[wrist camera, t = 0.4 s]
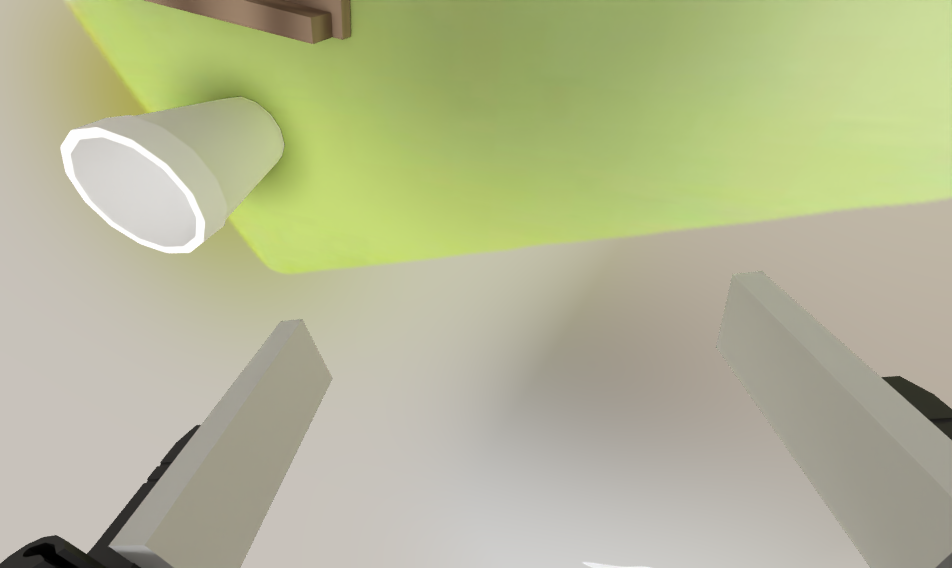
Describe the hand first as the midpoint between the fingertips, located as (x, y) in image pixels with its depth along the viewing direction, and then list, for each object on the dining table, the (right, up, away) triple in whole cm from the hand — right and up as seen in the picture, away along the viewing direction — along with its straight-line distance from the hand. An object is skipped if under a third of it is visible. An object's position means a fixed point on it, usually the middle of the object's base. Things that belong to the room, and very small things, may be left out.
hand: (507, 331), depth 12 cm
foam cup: (-22, +16, +24) cm, 36 cm away
